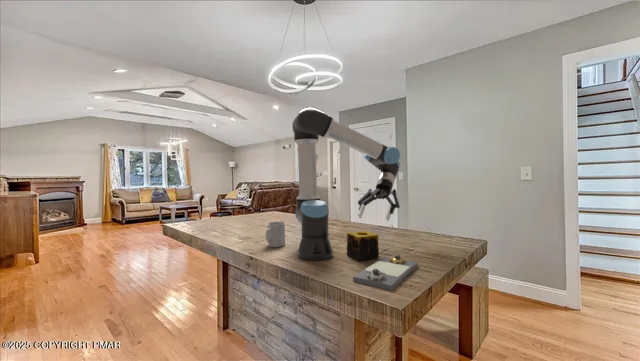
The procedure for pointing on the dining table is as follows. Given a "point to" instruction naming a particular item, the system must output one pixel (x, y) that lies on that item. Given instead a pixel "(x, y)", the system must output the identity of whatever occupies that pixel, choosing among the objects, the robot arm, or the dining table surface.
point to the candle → (362, 245)
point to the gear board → (386, 272)
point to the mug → (275, 234)
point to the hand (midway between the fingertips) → (372, 217)
